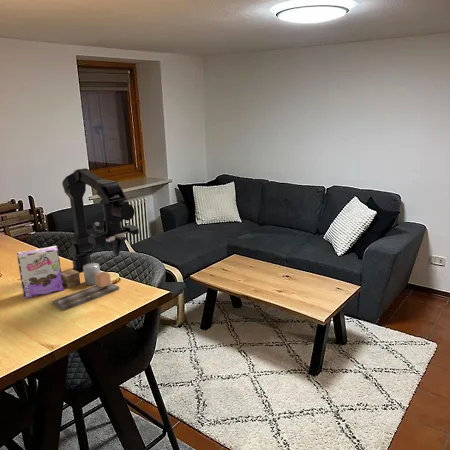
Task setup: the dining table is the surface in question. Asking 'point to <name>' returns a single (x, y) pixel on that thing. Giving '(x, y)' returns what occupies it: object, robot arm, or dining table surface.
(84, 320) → the dining table surface
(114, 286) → the board
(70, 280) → the walnut block
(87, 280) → the grey rounded cylinder
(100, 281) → the peach cube
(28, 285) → the candy box
